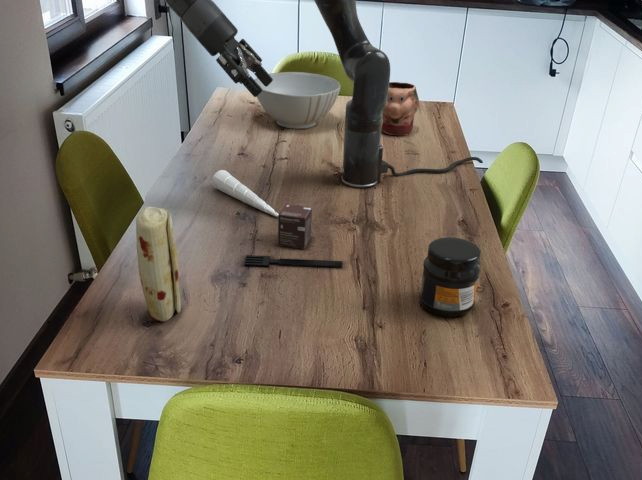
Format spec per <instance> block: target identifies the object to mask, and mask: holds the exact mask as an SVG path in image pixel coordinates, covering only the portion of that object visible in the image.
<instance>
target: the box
mask: <svg viewBox="0 0 642 480" xmlns="http://www.w3.org/2000/svg"><path fill="white" fill-rule="evenodd" d="M278 214H279V215H278V217H277V218H278V219H277V225H278V226H277V228H278V231H277V245H278V246H281V247H287V248H293V249H301V250H305V249H306V247H307V244H309V241H310V240H311V235H312V218H313V217H312V216H313V208H312V207H309V206H303V205H298V204H290V203H289V204H288V203H285V204H284V206H283V207H282V209H280V211H279V213H278Z"/></svg>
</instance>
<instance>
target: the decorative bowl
mask: <svg viewBox="0 0 642 480" xmlns="http://www.w3.org/2000/svg"><path fill="white" fill-rule="evenodd" d="M268 74H269V75H270V76H271V77H272V79H273V81H272V82H271V83H270V84H269V85H268V86H267V87H265V86H264V85H263V84H262V82H261V81H260V80H259V79H258V78H257V77H256V78H254V80H255V81H256V82H257V84H258V85H259V86H260V87H261V88H262V92H261V93H260V94H259V95H258V96H257V97H256V99H257V100H258V102H259V104H260V105H261V107H262V109H263V110H264V111H265V112H266V113H267V115H268V116H270V117H271V118H273V119H274V120H275V121H276V123H277V125H279V126H281V127H283V128H287V129H294V130H295V129H297V130H298V129H299V130H300V129H309V128H312V127H314V126H315V125H316V124H317V122H318V121H319V120H321V119H322V118H325V116H326V115H327V114H328V113H329V112H330V111H331V109H332V108H333V106H335V103H336V102H337V99H338V96H339V94H340V91H341V83H340V82H339V81H338V80H337V79H335V78H334V77H333V78H332V77H330V76H326V75H323V74H318V73H312V72H301V71H281V72H271V73H268Z"/></svg>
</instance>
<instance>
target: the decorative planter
mask: <svg viewBox="0 0 642 480" xmlns="http://www.w3.org/2000/svg"><path fill="white" fill-rule="evenodd" d="M419 106H420V98H419V95H418V91H417V87H416V85H415V84H413V83H409V82H400V81H389V89H388V97H387V103H386V106H385V108H384V110H383V116H382V128H381V132H383V133H385V134H387V135H393V136H408V135H410V134H411V133H412V131H413V128H414V120H415V115H416V113H417V112H418V109H419Z"/></svg>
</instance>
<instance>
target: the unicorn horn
mask: <svg viewBox="0 0 642 480" xmlns="http://www.w3.org/2000/svg"><path fill="white" fill-rule="evenodd" d="M211 181H212V182H211V183H212V186H213V187H214V189H216V190H218V191H220V192H222V193H225V194H226V195H229V196H230V197H233V198H234V199H237V200H238V201H240V202H242V203H245V204H247V205H248V206H251V207H253V208H255V209H258V210H260V211H262V212H264V213H266V214H269V215H271V216H274V217H275V218H276V217H277V218H278V215H279V213H278V212H277V211H276V210H275V209H274V208H272V206H270V205H269V204H267V202H266V201H264V200H263V199H262V198H261V197H259V196H258V195H257V194H256V193H255V192H253V191H252V190H251V189H250V188H248V187H247V186H246V185H245V184H244V183H242V182H241V181H240V180H238V179H237V178H236V177H234V176H233V175H232V174H230V173H229V171H227V170H225V169H220V170H217V171H216V172H215V173H214V174H213V176H212V180H211Z"/></svg>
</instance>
